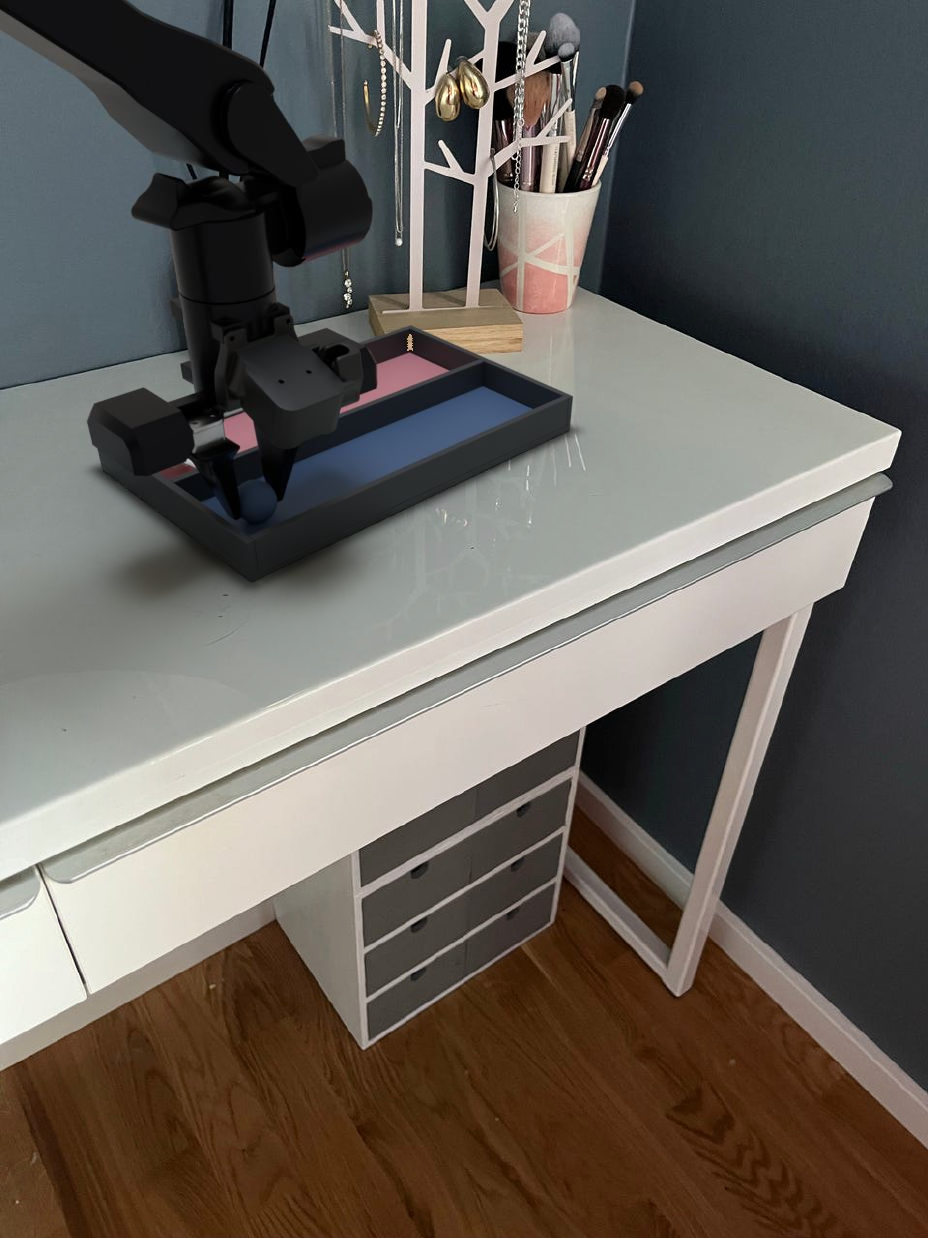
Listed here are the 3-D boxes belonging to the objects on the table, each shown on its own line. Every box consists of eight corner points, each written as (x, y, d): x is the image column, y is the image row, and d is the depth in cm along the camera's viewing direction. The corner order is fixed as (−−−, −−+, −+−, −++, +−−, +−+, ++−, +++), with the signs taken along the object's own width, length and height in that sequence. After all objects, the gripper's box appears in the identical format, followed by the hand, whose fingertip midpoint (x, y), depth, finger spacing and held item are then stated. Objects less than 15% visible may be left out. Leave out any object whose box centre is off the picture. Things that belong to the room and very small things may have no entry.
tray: (251, 582, 65) (246, 543, 63) (101, 469, 76) (93, 433, 74) (570, 429, 83) (573, 395, 81) (411, 356, 94) (410, 324, 92)
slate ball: (251, 535, 68) (247, 497, 66) (227, 518, 70) (222, 481, 68) (287, 521, 70) (284, 483, 68) (262, 504, 71) (259, 467, 70)
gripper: (160, 374, 50) (204, 617, 60) (432, 286, 60) (431, 505, 70) (56, 311, 56) (111, 540, 66) (319, 241, 66) (333, 449, 76)
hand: (255, 508), depth 69 cm, fingers open, 3 cm apart
